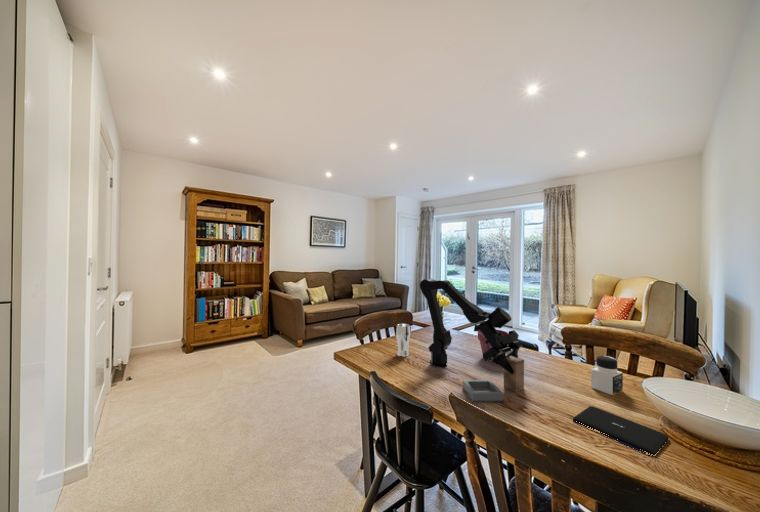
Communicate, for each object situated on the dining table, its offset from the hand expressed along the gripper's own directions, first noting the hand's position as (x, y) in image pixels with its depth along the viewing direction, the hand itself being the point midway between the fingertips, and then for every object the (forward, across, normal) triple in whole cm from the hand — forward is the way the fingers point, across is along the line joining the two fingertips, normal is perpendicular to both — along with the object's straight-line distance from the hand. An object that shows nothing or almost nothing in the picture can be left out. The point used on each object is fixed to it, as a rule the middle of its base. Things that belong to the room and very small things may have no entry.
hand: (517, 371), depth 105 cm
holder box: (+1, -14, +8) cm, 17 cm away
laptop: (+26, +1, -16) cm, 31 cm away
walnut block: (+4, 0, +6) cm, 7 cm away
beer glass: (-32, -13, +42) cm, 54 cm away
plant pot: (-12, +20, +22) cm, 32 cm away
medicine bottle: (+18, +28, -8) cm, 34 cm away
